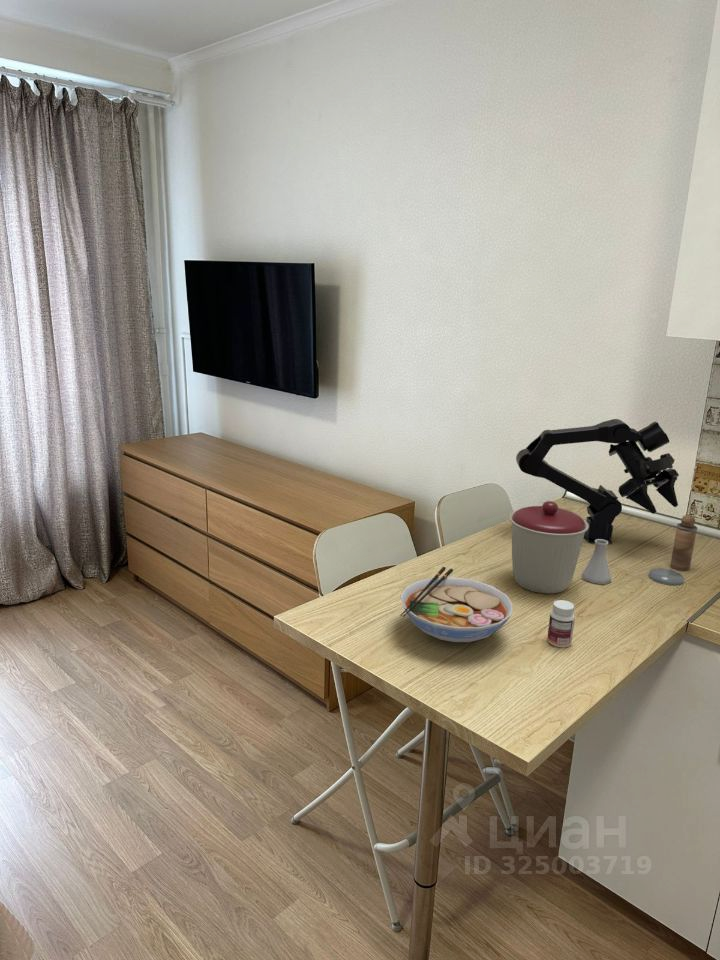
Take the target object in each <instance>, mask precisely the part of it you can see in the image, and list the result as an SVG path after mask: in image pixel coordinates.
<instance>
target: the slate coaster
mask: <svg viewBox="0 0 720 960" xmlns="http://www.w3.org/2000/svg"><path fill="white" fill-rule="evenodd" d="M648 577H649V579H651V580H652V581H653V582H656V583H659V584H663V585H665V586H680V585H682V584H683V583H684V579H685V577H684V575H682V574H681V573H680V572H679V571H677V570H676V571H675V570H674V569H670V568H662V567H661V568H660V567H655V568H650V570H649V571H648Z"/></svg>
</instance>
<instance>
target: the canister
mask: <svg viewBox="0 0 720 960" xmlns="http://www.w3.org/2000/svg"><path fill="white" fill-rule="evenodd" d="M508 519H509V522H510V523H511V558H512V559H511V561H512V563H511V564H512V575H513V577H514V580H515V582H516V583H517V584H518V585H519V586H521V587H522V588H524V589H526V590H529V591H532V592H535V593H538V594H539V593H540V594H557V593H560V592H563V591H565V590H567V588H569V586H570V585H571V583H572V580H573V578H574V574H575V572H576V567H577V564H578V561H579V557H580V552H581V550H582V549H581V548H582V544H583V541H584V538H585V537H584V533H585V532H586V531H587V530H588V528H589V525H588V523H587V522H586V520H585V519H583V518H582V517H581V516H580V515H579V514H577V513H575V512H572V511H570V510H568V509H564V508H559V506H558V504H557V503H556V502H555V501H551V500H547V501H545V502H543V503H542V505H533V506H526V507H521V508H519V509H516V510H514V511H512V512H511V513H510V514H509V515H508Z"/></svg>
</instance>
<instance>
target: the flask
mask: <svg viewBox="0 0 720 960" xmlns="http://www.w3.org/2000/svg"><path fill="white" fill-rule="evenodd" d="M594 544H595V546H594V551H593V552H592V554H591V557H590V558H589V561H588V562H587V564H586V566H585V568H584V569H583V570H582V573H581V579H583V580H584V581H587V582H588V583H592V584H599V585H607V584H610V583H612V577H611V573H610V567H609V564H608V563H609V562H608V558H607V546H608V544H609V543H608V541H606V540H602V539H596V540H595V543H594Z"/></svg>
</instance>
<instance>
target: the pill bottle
mask: <svg viewBox="0 0 720 960" xmlns="http://www.w3.org/2000/svg"><path fill="white" fill-rule="evenodd" d="M574 612H575V605H574V604H573V603H572V602H571V601H568V600H562V599H561V600H560V599H557V600H554V602H553V603H552V610H551V611H550V613H549V622H548V630H547V638H546V639H547V640H546V641H547V642H548V643H549V644H551V646H552V645H553V646H554V647H557V648H568V647H570V646H571V645H572V641H573V633H574V625H575V618H576V616H575V614H574Z"/></svg>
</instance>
